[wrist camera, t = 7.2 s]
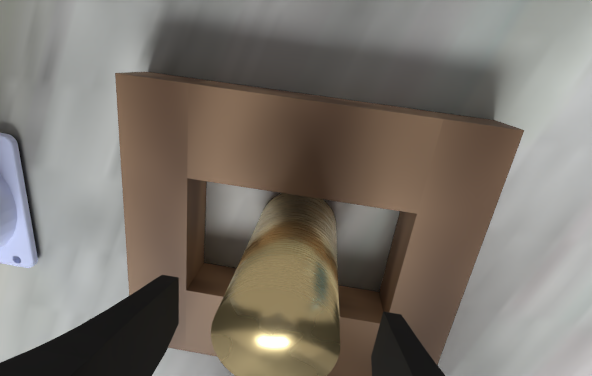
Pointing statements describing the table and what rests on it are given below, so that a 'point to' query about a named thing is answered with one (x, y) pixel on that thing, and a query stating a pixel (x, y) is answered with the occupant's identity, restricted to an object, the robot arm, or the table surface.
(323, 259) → the brass peg
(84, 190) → the table surface
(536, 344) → the table surface
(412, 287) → the jig plate
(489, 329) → the table surface
